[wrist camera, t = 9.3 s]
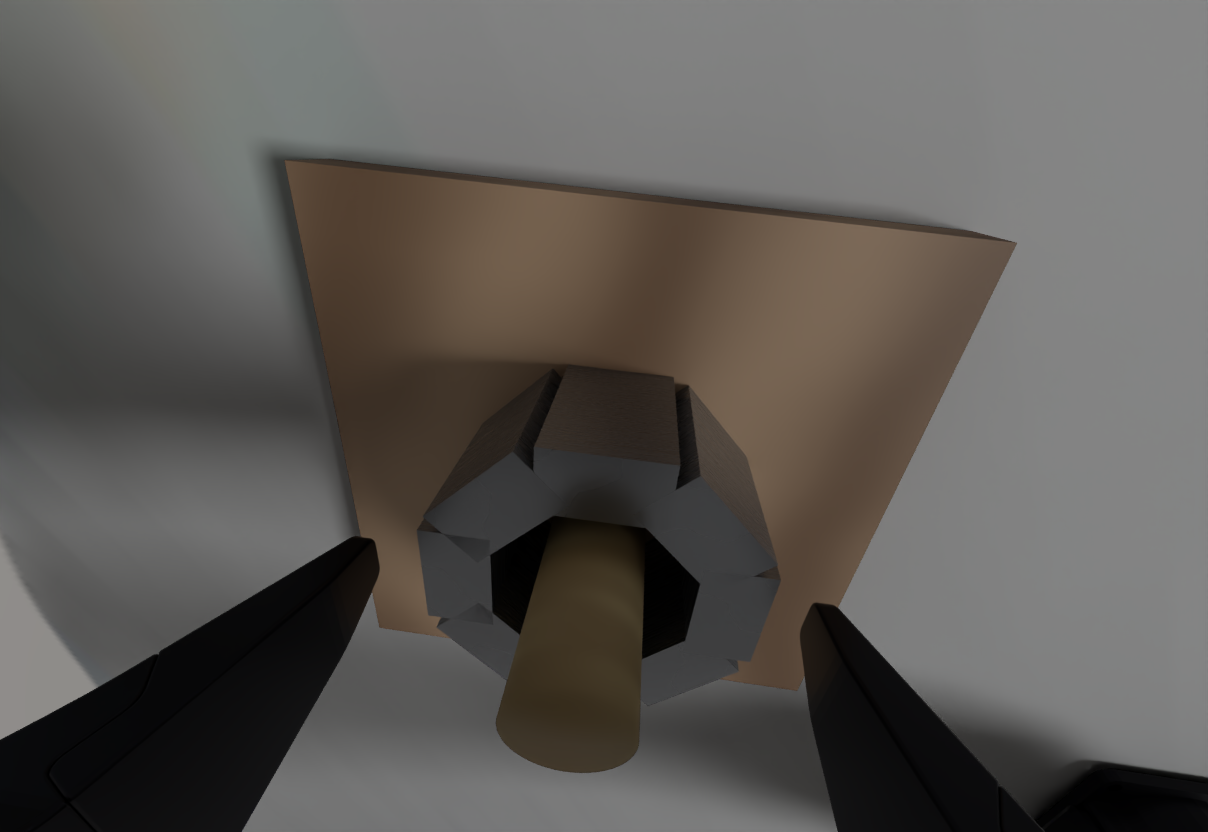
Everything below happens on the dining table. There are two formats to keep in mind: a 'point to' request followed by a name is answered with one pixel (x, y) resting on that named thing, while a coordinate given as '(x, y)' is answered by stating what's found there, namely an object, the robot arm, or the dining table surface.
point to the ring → (605, 521)
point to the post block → (635, 344)
